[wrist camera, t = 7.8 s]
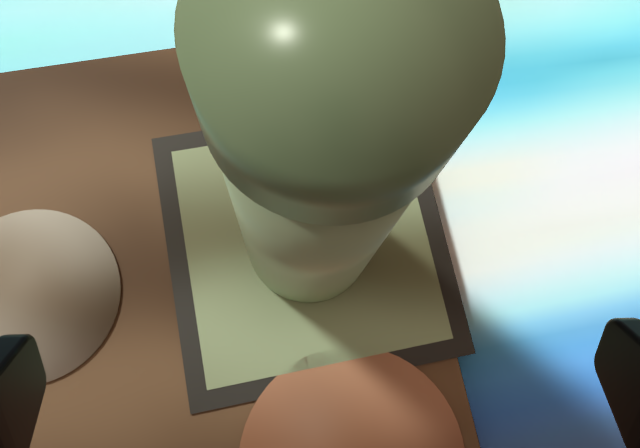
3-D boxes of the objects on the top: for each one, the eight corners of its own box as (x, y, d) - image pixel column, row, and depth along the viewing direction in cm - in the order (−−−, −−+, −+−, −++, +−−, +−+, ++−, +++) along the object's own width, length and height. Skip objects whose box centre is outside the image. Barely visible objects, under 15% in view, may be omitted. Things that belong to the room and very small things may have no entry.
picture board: (518, 544, 17) (528, 551, 17) (-42, 688, 16) (-56, 702, 15) (383, 26, 22) (387, 15, 21) (-68, 92, 20) (-80, 82, 19)
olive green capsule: (384, 292, 18) (547, 149, 7) (257, 317, 18) (201, 210, 6) (355, 173, 19) (456, -126, 8) (235, 195, 19) (153, -90, 7)
